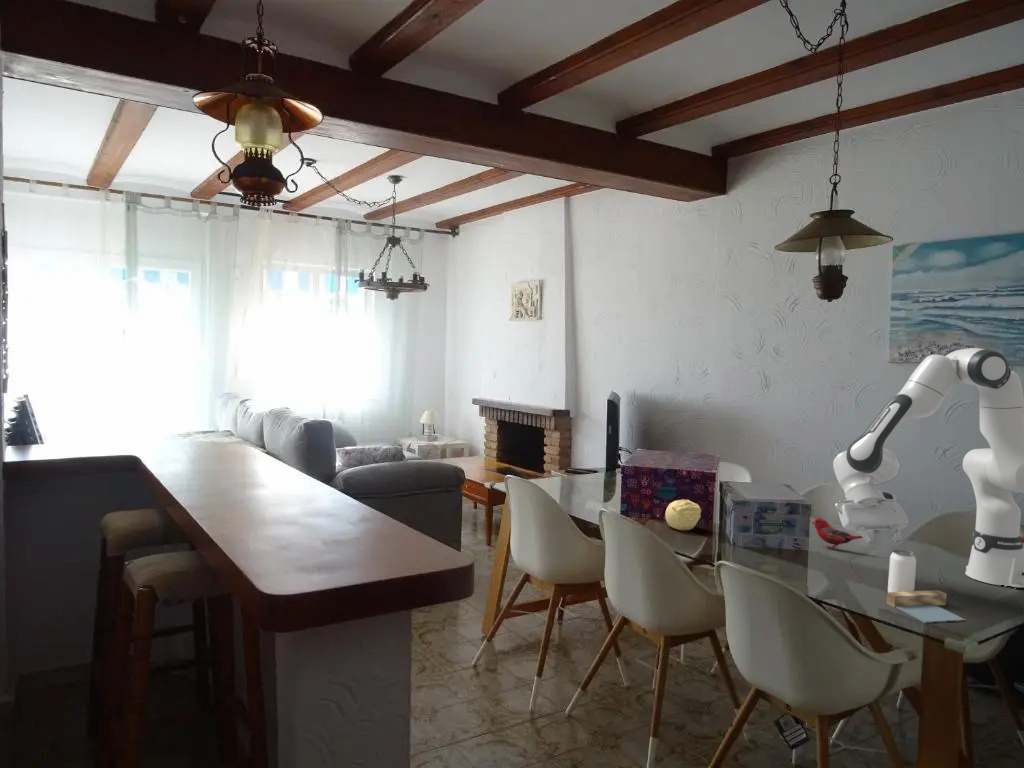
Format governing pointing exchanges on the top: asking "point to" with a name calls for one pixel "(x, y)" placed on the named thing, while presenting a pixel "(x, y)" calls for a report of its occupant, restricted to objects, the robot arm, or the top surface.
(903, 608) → the felt mat
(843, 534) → the decorative bird figurine
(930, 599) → the oak rail
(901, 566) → the can
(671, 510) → the pale yellow round lump
